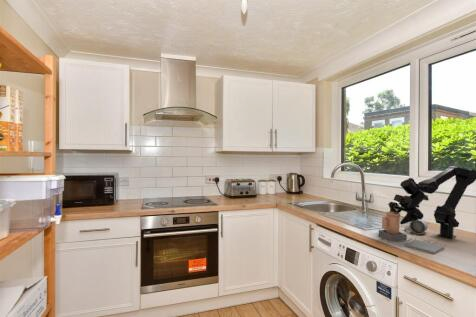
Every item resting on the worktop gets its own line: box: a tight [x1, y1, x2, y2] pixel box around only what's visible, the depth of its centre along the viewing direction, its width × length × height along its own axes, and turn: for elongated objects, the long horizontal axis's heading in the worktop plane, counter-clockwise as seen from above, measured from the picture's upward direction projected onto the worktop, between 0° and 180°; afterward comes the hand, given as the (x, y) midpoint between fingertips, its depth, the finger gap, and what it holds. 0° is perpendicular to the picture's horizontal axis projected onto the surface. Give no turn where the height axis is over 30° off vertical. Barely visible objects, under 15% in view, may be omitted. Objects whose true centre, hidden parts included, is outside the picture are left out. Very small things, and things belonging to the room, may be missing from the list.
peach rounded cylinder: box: [381, 211, 401, 235], centre depth 136 cm, size 8×7×13 cm
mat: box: [403, 239, 445, 255], centre depth 123 cm, size 12×12×1 cm
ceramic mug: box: [404, 218, 429, 235], centre depth 148 cm, size 11×8×8 cm
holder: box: [378, 229, 408, 242], centre depth 136 cm, size 9×9×3 cm
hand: (394, 221), depth 136 cm, fingers open, 9 cm apart
